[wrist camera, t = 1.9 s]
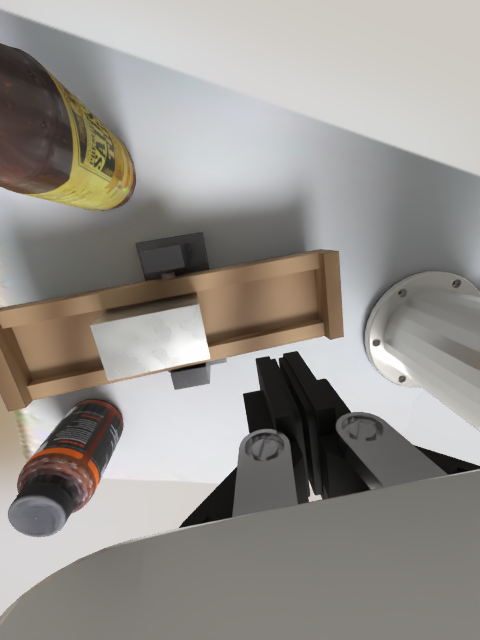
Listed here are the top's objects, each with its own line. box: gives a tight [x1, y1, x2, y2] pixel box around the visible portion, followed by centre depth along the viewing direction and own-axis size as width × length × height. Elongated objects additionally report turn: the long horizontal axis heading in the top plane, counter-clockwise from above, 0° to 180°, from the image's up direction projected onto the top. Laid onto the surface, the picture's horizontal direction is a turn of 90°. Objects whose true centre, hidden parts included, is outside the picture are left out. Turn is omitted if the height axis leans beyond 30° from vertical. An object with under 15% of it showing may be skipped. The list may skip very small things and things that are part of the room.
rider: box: [90, 293, 210, 381], centre depth 22 cm, size 7×4×4 cm, turn 99°
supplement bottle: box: [8, 400, 123, 537], centre depth 27 cm, size 6×6×11 cm
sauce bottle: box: [0, 43, 136, 211], centre depth 16 cm, size 6×6×20 cm
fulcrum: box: [136, 232, 226, 390], centre depth 26 cm, size 26×13×6 cm, turn 99°
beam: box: [0, 249, 344, 411], centre depth 25 cm, size 26×8×6 cm, turn 99°
